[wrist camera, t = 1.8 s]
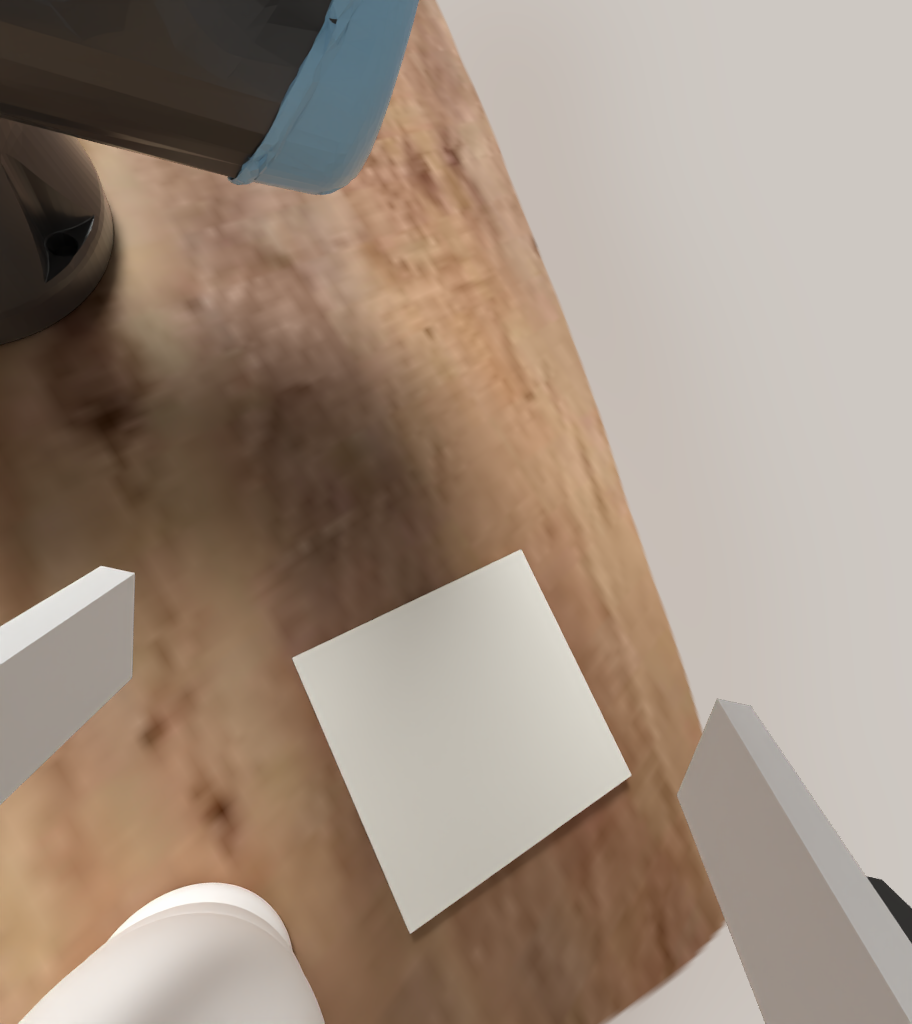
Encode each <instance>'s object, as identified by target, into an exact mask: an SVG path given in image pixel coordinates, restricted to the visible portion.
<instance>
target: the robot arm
mask: <svg viewBox="0 0 912 1024" xmlns="http://www.w3.org/2000/svg"><path fill="white" fill-rule="evenodd" d="M418 2H419V0H0V345H1V344H5V343H9V342H12V341H15V340H18V339H21V338H24V337H27V336H29V335H32V334H34V333H36V332H39V331H41V330H43V329H45V328H47V327H49V326H51V325H52V324H54V323H56V322H57V321H59V320H61V319H62V318H64V317H65V316H66V315H68V314H69V313H70V312H72V311H73V310H74V309H75V308H77V307H78V306H79V305H80V304H81V303H82V302H83V301H84V300H85V299H86V298H87V297H88V296H89V295H90V293H91V292H92V291H93V290H94V288H95V287H96V285H97V284H98V282H99V281H100V279H101V277H102V276H103V274H104V272H105V270H106V267H107V265H108V262H109V259H110V256H111V251H112V246H113V220H112V215H111V211H110V207H109V204H108V201H107V198H106V196H105V193H104V190H103V187H102V185H101V182H100V179H99V177H98V174H97V171H96V169H95V167H94V165H93V163H92V161H91V160H90V158H89V156H88V154H87V153H86V151H85V149H84V148H83V146H82V145H81V143H80V142H79V141H78V139H77V138H81V139H85V140H89V141H93V142H97V143H101V144H105V145H108V146H112V147H116V148H120V149H124V150H128V151H132V152H136V153H139V154H143V155H147V156H151V157H155V158H159V159H163V160H167V161H170V162H174V163H178V164H182V165H186V166H190V167H194V168H198V169H201V170H205V171H209V172H213V173H217V174H221V175H225V176H228V180H229V181H230V182H231V183H234V184H236V185H242V184H250V183H252V182H256V183H261V184H265V185H270V186H275V187H280V188H284V189H289V190H294V191H299V192H304V193H308V194H315V195H323V194H330V193H333V192H335V191H337V190H339V189H340V188H342V187H344V186H346V185H347V184H349V182H350V181H351V180H352V179H354V178H355V177H356V176H357V175H358V173H359V172H360V171H361V169H362V167H363V165H364V164H365V162H366V160H367V158H368V156H369V154H370V152H371V150H372V147H373V145H374V142H375V140H376V138H377V135H378V132H379V130H380V127H381V125H382V122H383V119H384V116H385V113H386V110H387V108H388V105H389V102H390V98H391V95H392V92H393V89H394V86H395V83H396V80H397V77H398V73H399V70H400V67H401V63H402V60H403V57H404V53H405V50H406V46H407V43H408V39H409V36H410V32H411V29H412V25H413V22H414V18H415V14H416V10H417V6H418ZM76 137H77V138H76ZM134 592H135V573H132V572H127V571H123V570H118V569H113V568H109V567H104V566H100V567H98V568H97V569H95V570H93V571H92V572H90V573H88V574H87V575H85V576H83V577H82V578H80V579H78V580H77V581H75V582H73V583H72V584H70V585H68V586H67V587H65V588H63V589H62V590H60V591H58V592H57V593H55V594H53V595H52V596H50V597H48V598H47V599H45V600H43V601H42V602H40V603H39V604H37V605H35V606H34V607H32V608H30V609H29V610H27V611H25V612H24V613H22V614H20V615H19V616H17V617H15V618H14V619H12V620H10V621H9V622H7V623H5V624H4V625H2V626H0V805H1V804H2V803H3V802H4V801H5V800H6V799H7V798H8V797H9V796H10V795H11V794H12V793H13V792H14V791H15V790H16V789H17V788H18V787H19V786H20V785H21V784H22V783H23V782H25V781H26V780H27V779H28V778H29V777H30V776H31V775H32V774H33V773H34V772H35V771H36V770H37V769H38V768H39V767H40V766H41V765H42V764H43V763H44V762H45V761H46V760H47V759H48V758H49V757H50V756H52V755H53V754H54V753H55V752H56V751H57V750H58V749H59V748H60V747H61V746H62V745H63V744H64V743H65V742H66V741H67V740H68V739H69V738H70V737H71V736H72V735H73V734H74V733H75V732H76V731H78V730H79V729H80V728H81V727H82V726H83V725H84V724H85V723H86V722H87V721H88V720H89V719H90V718H91V717H92V716H93V715H94V714H95V713H96V712H97V711H98V710H99V709H100V708H101V707H102V706H103V705H105V704H106V703H107V702H108V701H109V700H110V699H111V698H112V697H113V696H114V695H115V694H116V693H117V692H118V691H119V690H120V689H121V688H122V687H123V686H124V685H125V684H126V683H127V682H128V681H129V680H130V679H132V666H133V629H134ZM677 797H678V800H679V802H680V805H681V807H682V810H683V812H684V815H685V818H686V820H687V823H688V825H689V828H690V830H691V833H692V836H693V838H694V841H695V843H696V846H697V849H698V851H699V854H700V856H701V859H702V861H703V864H704V867H705V869H706V872H707V874H708V877H709V879H710V882H711V885H712V887H713V890H714V892H715V895H716V897H717V900H718V903H719V905H720V908H721V910H722V913H723V916H724V918H725V921H726V923H727V926H728V928H729V931H730V933H731V936H732V939H733V941H734V944H735V946H736V949H737V952H738V954H739V957H740V959H741V962H742V964H743V967H744V970H745V972H746V975H747V977H748V980H749V982H750V985H751V988H752V990H753V993H754V995H755V998H756V1001H757V1003H758V1006H759V1008H760V1011H761V1013H762V1016H763V1018H764V1021H765V1024H912V908H910V906H909V905H907V904H906V903H905V902H904V901H903V900H902V899H901V898H900V897H899V896H898V895H897V894H896V893H895V892H894V891H893V890H892V889H891V888H890V887H889V886H888V885H887V884H886V883H885V882H884V881H882V880H880V879H876V878H872V877H867V876H866V875H865V874H864V873H863V871H862V869H861V868H860V867H859V865H858V864H857V862H856V861H855V859H854V858H853V856H852V855H851V853H850V852H849V850H848V849H847V848H846V846H845V844H844V843H843V841H842V840H841V838H840V837H839V835H838V834H837V832H836V831H835V829H834V828H833V827H832V825H831V824H830V822H829V821H828V819H827V818H826V816H825V815H824V813H823V812H822V810H821V809H820V807H819V806H818V804H817V803H816V802H815V800H814V798H813V797H812V795H811V794H810V793H809V791H808V790H807V788H806V787H805V785H804V784H803V782H802V781H801V779H800V778H799V776H798V775H797V773H796V772H795V770H794V769H793V767H792V766H791V764H790V763H789V762H788V760H787V759H786V757H785V756H784V754H783V753H782V751H781V750H780V748H779V747H778V745H777V744H776V742H775V741H774V739H773V738H772V736H771V735H770V733H769V732H768V730H767V729H766V728H765V726H764V725H763V723H762V722H761V720H760V719H759V717H758V716H757V714H756V713H755V711H754V710H753V708H752V707H751V706H749V705H745V704H740V703H735V702H730V701H726V700H721V699H717V700H716V702H715V705H714V707H713V709H712V712H711V714H710V717H709V719H708V721H707V724H706V726H705V729H704V731H703V733H702V736H701V738H700V741H699V743H698V745H697V748H696V750H695V753H694V755H693V758H692V760H691V762H690V765H689V767H688V770H687V772H686V774H685V777H684V779H683V782H682V784H681V786H680V789H679V791H678V794H677Z"/></svg>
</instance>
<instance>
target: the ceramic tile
mask: <svg viewBox="0 0 912 1024" xmlns="http://www.w3.org/2000/svg"><path fill="white" fill-rule="evenodd" d="M292 660H293V663H294V665H295V667H296V670H297V672H298V674H299V677H300V679H301V681H302V684H303V686H304V688H305V691H306V693H307V695H308V698H309V700H310V702H311V705H312V707H313V709H314V712H315V714H316V716H317V719H318V721H319V723H320V726H321V728H322V730H323V733H324V735H325V737H326V740H327V742H328V744H329V747H330V749H331V751H332V754H333V756H334V759H335V761H336V763H337V766H338V768H339V770H340V773H341V775H342V777H343V780H344V782H345V784H346V787H347V789H348V791H349V794H350V796H351V798H352V801H353V803H354V805H355V808H356V810H357V812H358V815H359V817H360V819H361V822H362V824H363V826H364V829H365V831H366V833H367V836H368V838H369V840H370V843H371V845H372V847H373V850H374V852H375V854H376V857H377V859H378V861H379V864H380V866H381V869H382V871H383V873H384V876H385V878H386V880H387V883H388V885H389V887H390V890H391V892H392V894H393V897H394V899H395V901H396V904H397V906H398V908H399V911H400V913H401V915H402V918H403V920H404V922H405V925H406V927H407V929H408V931H409V933H410V934H411V933H412V932H414V931H415V930H416V929H418V928H419V927H421V926H422V925H423V924H425V923H426V922H428V921H429V920H430V919H432V918H433V917H435V916H436V915H437V914H439V913H440V912H442V911H443V910H444V909H446V908H447V907H449V906H450V905H451V904H453V903H454V902H456V901H457V900H458V899H460V898H461V897H463V896H464V895H465V894H467V893H468V892H469V891H471V890H472V889H474V888H475V887H476V886H478V885H479V884H481V883H482V882H483V881H485V880H486V879H488V878H489V877H490V876H492V875H493V874H495V873H496V872H497V871H499V870H500V869H502V868H503V867H504V866H506V865H507V864H509V863H510V862H511V861H513V860H514V859H516V858H517V857H518V856H520V855H521V854H523V853H524V852H525V851H527V850H528V849H530V848H531V847H532V846H534V845H535V844H537V843H538V842H539V841H541V840H542V839H543V838H545V837H546V836H548V835H549V834H550V833H552V832H553V831H555V830H556V829H557V828H559V827H560V826H562V825H563V824H564V823H566V822H567V821H569V820H570V819H571V818H573V817H574V816H576V815H577V814H578V813H580V812H581V811H583V810H584V809H585V808H587V807H588V806H590V805H591V804H592V803H594V802H595V801H597V800H598V799H599V798H601V797H602V796H604V795H605V794H606V793H608V792H609V791H610V790H612V789H613V788H615V787H616V786H617V785H619V784H620V783H622V782H623V781H624V780H626V779H627V778H629V777H630V776H631V773H630V771H629V769H628V767H627V765H626V763H625V761H624V759H623V756H622V754H621V752H620V750H619V748H618V746H617V744H616V742H615V740H614V738H613V736H612V734H611V732H610V730H609V728H608V726H607V724H606V722H605V720H604V718H603V716H602V714H601V711H600V709H599V707H598V705H597V703H596V701H595V699H594V697H593V695H592V693H591V691H590V689H589V687H588V685H587V683H586V681H585V679H584V677H583V675H582V673H581V671H580V668H579V666H578V664H577V662H576V660H575V658H574V656H573V654H572V652H571V650H570V648H569V646H568V644H567V642H566V640H565V638H564V636H563V634H562V632H561V630H560V628H559V626H558V623H557V621H556V619H555V617H554V615H553V613H552V611H551V609H550V607H549V605H548V603H547V601H546V599H545V597H544V595H543V593H542V591H541V589H540V587H539V585H538V583H537V581H536V578H535V576H534V574H533V572H532V570H531V568H530V566H529V564H528V562H527V560H526V558H525V556H524V554H523V552H522V550H518V551H516V552H514V553H512V554H510V555H508V556H506V557H504V558H502V559H499V560H497V561H495V562H493V563H491V564H489V565H487V566H485V567H483V568H480V569H478V570H476V571H474V572H472V573H470V574H468V575H466V576H464V577H461V578H459V579H457V580H455V581H453V582H451V583H449V584H447V585H445V586H443V587H440V588H438V589H436V590H434V591H432V592H430V593H428V594H426V595H424V596H421V597H419V598H417V599H415V600H413V601H411V602H409V603H407V604H405V605H402V606H400V607H398V608H396V609H394V610H392V611H390V612H388V613H386V614H383V615H381V616H379V617H377V618H375V619H373V620H371V621H369V622H367V623H365V624H362V625H360V626H358V627H356V628H354V629H352V630H350V631H348V632H346V633H343V634H341V635H339V636H337V637H335V638H333V639H331V640H329V641H327V642H324V643H322V644H320V645H318V646H316V647H314V648H312V649H310V650H308V651H305V652H303V653H301V654H299V655H297V656H295V657H293V658H292Z"/></svg>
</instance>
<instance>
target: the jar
mask: <svg viewBox="0 0 912 1024" xmlns="http://www.w3.org/2000/svg"><path fill="white" fill-rule="evenodd" d="M18 1024H325V1022H324V1019H323V1016H322V1013H321V1010H320V1007H319V1004H318V1002H317V999H316V997H315V995H314V993H313V990H312V988H311V986H310V984H309V982H308V980H307V979H306V977H305V975H304V973H303V971H302V969H301V966H300V964H299V962H298V960H297V958H296V956H295V955H294V953H293V950H292V945H291V941H290V938H289V935H288V932H287V930H286V928H285V926H284V924H283V922H282V920H281V919H280V917H279V915H278V914H277V913H276V911H275V910H274V909H273V908H272V907H271V906H270V905H269V904H268V903H267V902H266V901H265V900H264V899H262V898H261V897H260V896H258V895H257V894H255V893H253V892H251V891H249V890H247V889H245V888H242V887H239V886H236V885H232V884H226V883H200V884H194V885H189V886H185V887H182V888H179V889H176V890H173V891H171V892H168V893H166V894H164V895H162V896H160V897H158V898H156V899H155V900H153V901H151V902H150V903H148V904H147V905H145V906H144V907H142V908H141V909H139V910H138V911H137V912H136V913H134V914H133V915H132V916H131V917H130V918H128V919H127V920H126V921H125V922H124V923H123V924H122V925H121V926H120V927H119V928H118V929H117V930H116V931H115V933H114V934H113V935H112V936H111V937H110V938H109V940H108V941H107V942H106V943H105V944H104V945H102V946H101V947H100V948H99V949H98V950H96V951H95V952H94V953H93V954H92V955H91V956H89V957H88V958H87V959H86V960H85V961H84V962H83V963H81V964H80V965H79V966H78V967H76V968H75V969H74V970H73V971H72V972H70V973H69V974H68V975H67V976H66V977H65V978H64V979H62V980H61V981H60V982H59V983H58V984H57V985H56V986H55V987H54V988H53V989H51V990H50V991H49V992H48V993H47V994H46V995H45V996H44V997H43V998H42V999H41V1000H40V1001H39V1002H38V1003H37V1004H36V1005H35V1006H34V1007H33V1008H32V1009H31V1010H30V1011H29V1012H28V1014H27V1015H26V1016H25V1017H24V1018H23V1019H22V1020H21V1021H20V1022H19V1023H18Z"/></svg>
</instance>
